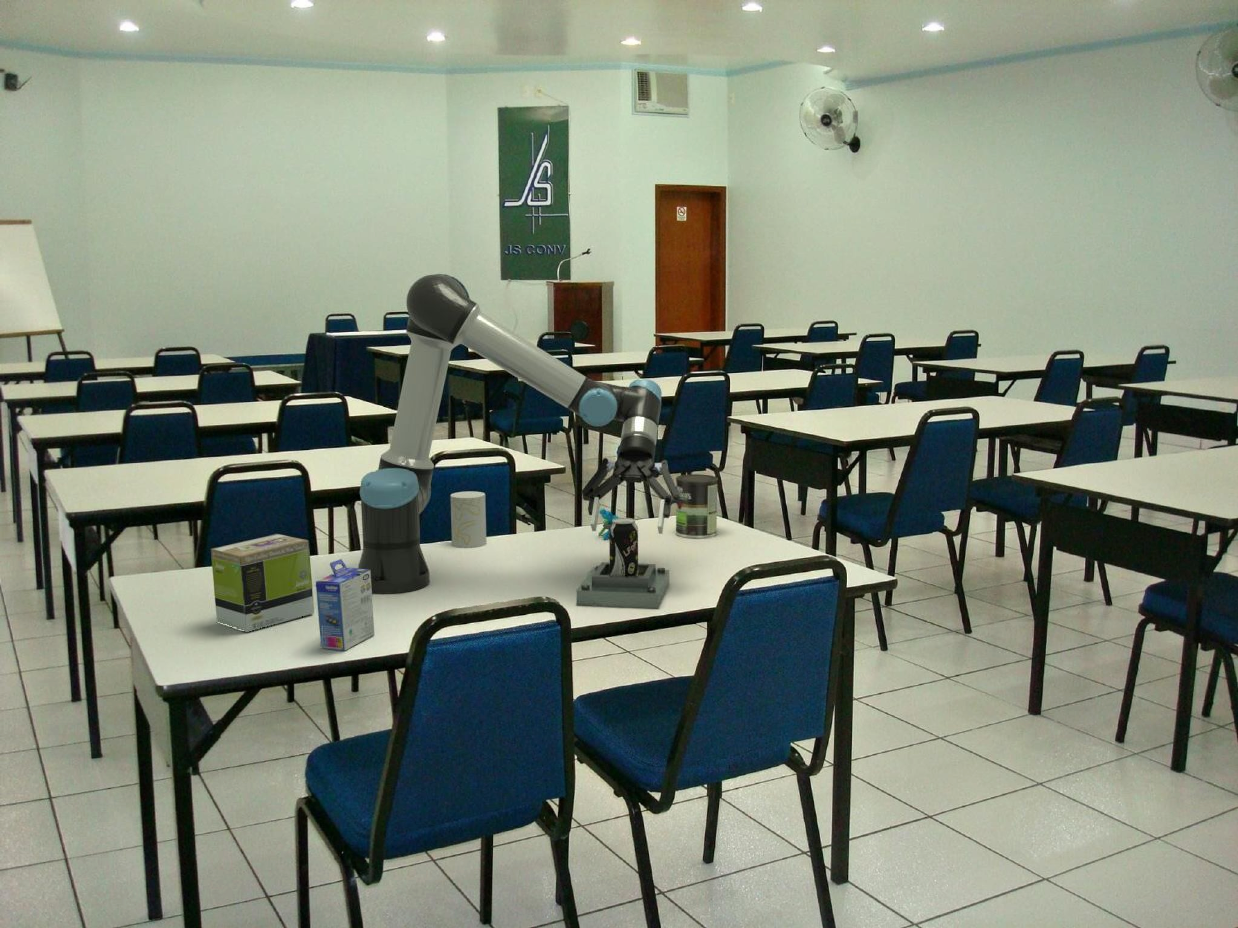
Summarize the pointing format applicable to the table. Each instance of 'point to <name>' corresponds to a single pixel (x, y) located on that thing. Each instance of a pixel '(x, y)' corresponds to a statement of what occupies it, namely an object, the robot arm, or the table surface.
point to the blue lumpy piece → (606, 521)
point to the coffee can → (696, 506)
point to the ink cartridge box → (345, 607)
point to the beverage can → (623, 547)
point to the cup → (468, 519)
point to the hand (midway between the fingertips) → (626, 528)
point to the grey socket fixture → (624, 587)
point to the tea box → (262, 581)
